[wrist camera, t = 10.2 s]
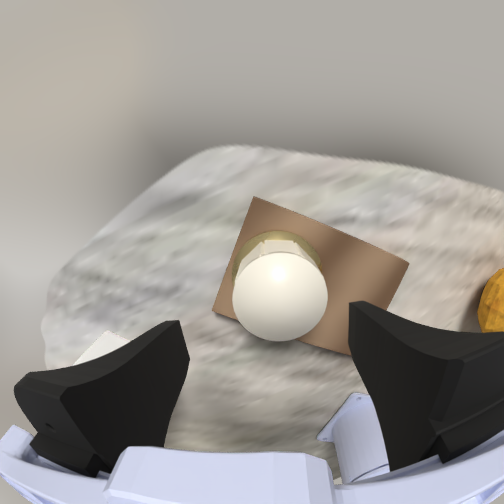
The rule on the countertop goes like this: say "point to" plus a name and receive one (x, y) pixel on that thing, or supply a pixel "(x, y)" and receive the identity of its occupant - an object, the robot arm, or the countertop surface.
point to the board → (324, 270)
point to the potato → (492, 304)
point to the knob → (273, 236)
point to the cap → (279, 291)
